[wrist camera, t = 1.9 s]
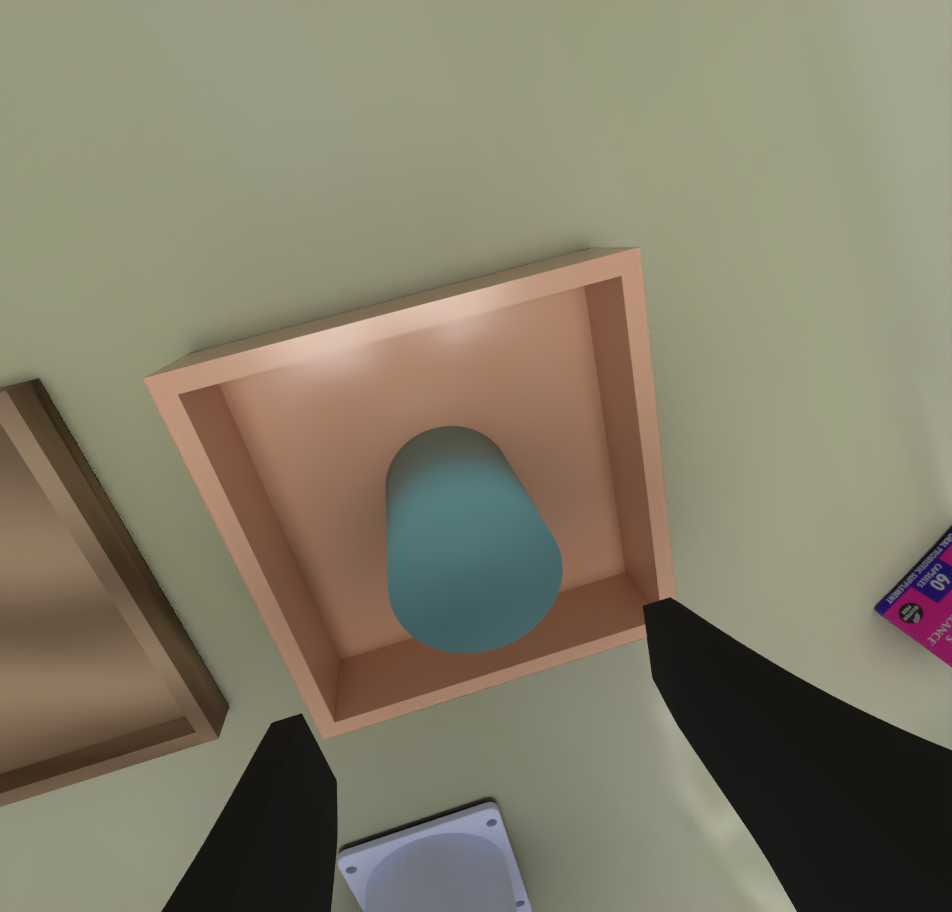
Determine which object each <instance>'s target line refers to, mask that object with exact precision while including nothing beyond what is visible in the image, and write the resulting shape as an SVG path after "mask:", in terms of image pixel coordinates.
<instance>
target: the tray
mask: <svg viewBox="0 0 952 912" xmlns="http://www.w3.org/2000/svg"><path fill="white" fill-rule="evenodd" d="M228 708H229V706H228V704H227V703H226V701H225V699H224V697H223V696H222V694H221V692H220V691H219V689H218V687H217V685H216V684H215V682H214V680H213V678H212V677H211V675H210V673H209V672H208V670H207V668H206V666H205V665H204V663H203V661H202V660H201V658H200V656H199V654H198V653H197V651H196V649H195V647H194V646H193V644H192V642H191V641H190V639H189V637H188V635H187V634H186V632H185V630H184V629H183V627H182V625H181V623H180V622H179V620H178V618H177V616H176V615H175V613H174V611H173V610H172V608H171V606H170V604H169V603H168V601H167V599H166V598H165V596H164V594H163V592H162V591H161V589H160V587H159V585H158V584H157V582H156V580H155V579H154V577H153V575H152V573H151V572H150V570H149V568H148V567H147V565H146V563H145V561H144V560H143V558H142V556H141V554H140V553H139V551H138V549H137V548H136V546H135V544H134V542H133V541H132V539H131V537H130V536H129V534H128V532H127V530H126V529H125V527H124V525H123V523H122V522H121V520H120V518H119V517H118V515H117V513H116V511H115V510H114V508H113V506H112V505H111V503H110V501H109V499H108V498H107V496H106V494H105V492H104V491H103V489H102V487H101V486H100V484H99V482H98V480H97V479H96V477H95V475H94V474H93V472H92V470H91V468H90V467H89V465H88V463H87V461H86V460H85V458H84V456H83V455H82V453H81V451H80V449H79V448H78V446H77V444H76V443H75V441H74V439H73V437H72V436H71V434H70V432H69V430H68V429H67V427H66V425H65V424H64V422H63V420H62V418H61V417H60V415H59V413H58V412H57V410H56V408H55V406H54V405H53V403H52V401H51V399H50V398H49V396H48V394H47V393H46V391H45V389H44V387H43V386H42V384H41V382H40V381H39V379H35V380H31V381H27V382H23V383H19V384H16V385H12V386H8V387H4V388H0V807H2V806H5V805H8V804H11V803H14V802H18V801H21V800H24V799H27V798H30V797H33V796H37V795H40V794H43V793H46V792H49V791H53V790H56V789H59V788H62V787H65V786H69V785H72V784H75V783H78V782H81V781H84V780H88V779H91V778H94V777H97V776H100V775H104V774H107V773H110V772H113V771H116V770H120V769H123V768H126V767H129V766H132V765H135V764H139V763H142V762H145V761H148V760H151V759H155V758H158V757H161V756H164V755H167V754H171V753H174V752H177V751H180V750H183V749H186V748H190V747H193V746H196V745H199V744H202V743H206V742H209V741H212V740H215V739H218V738H219V736H220V733H221V730H222V727H223V724H224V721H225V718H226V715H227V712H228Z"/></svg>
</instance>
